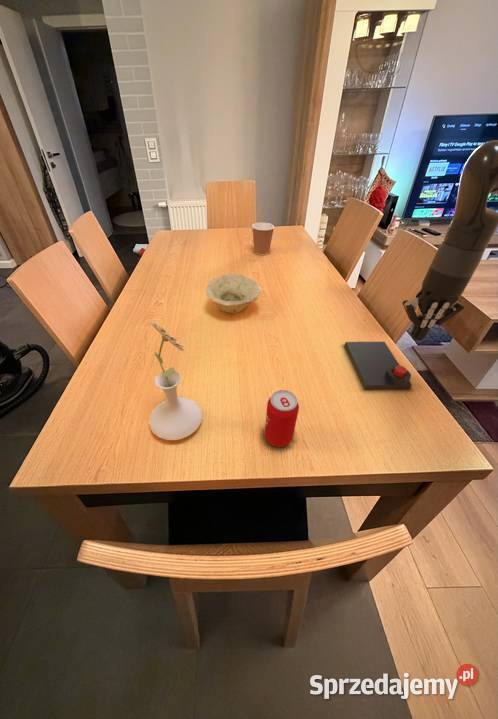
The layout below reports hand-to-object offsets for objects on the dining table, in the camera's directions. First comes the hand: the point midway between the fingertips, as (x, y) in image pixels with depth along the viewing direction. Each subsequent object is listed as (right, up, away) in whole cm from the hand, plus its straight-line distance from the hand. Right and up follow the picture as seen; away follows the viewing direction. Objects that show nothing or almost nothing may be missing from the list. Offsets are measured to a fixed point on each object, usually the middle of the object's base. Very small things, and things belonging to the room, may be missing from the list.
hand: (416, 338), depth 70 cm
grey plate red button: (-4, -7, +14) cm, 16 cm away
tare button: (0, -9, +8) cm, 12 cm away
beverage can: (-33, -22, -4) cm, 39 cm away
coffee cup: (-33, +47, +74) cm, 94 cm away
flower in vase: (-56, -19, -2) cm, 59 cm away
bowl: (-45, +13, +35) cm, 58 cm away
